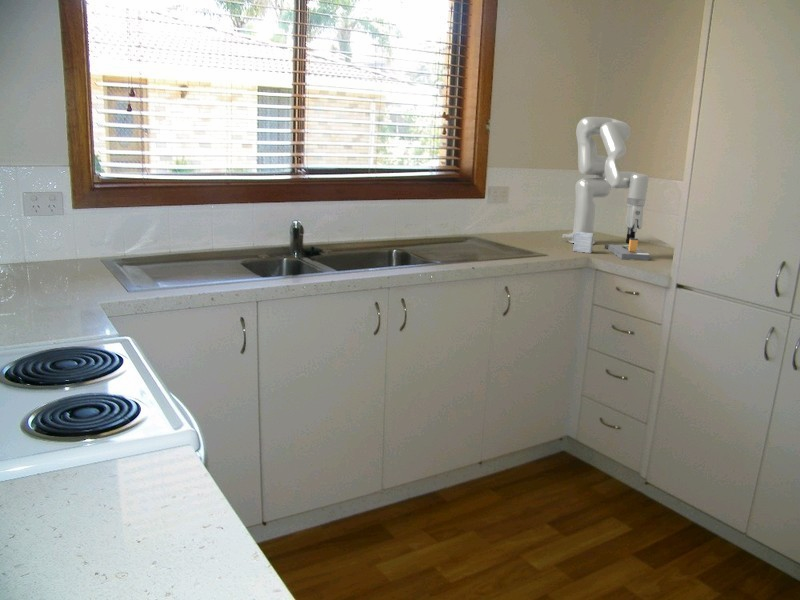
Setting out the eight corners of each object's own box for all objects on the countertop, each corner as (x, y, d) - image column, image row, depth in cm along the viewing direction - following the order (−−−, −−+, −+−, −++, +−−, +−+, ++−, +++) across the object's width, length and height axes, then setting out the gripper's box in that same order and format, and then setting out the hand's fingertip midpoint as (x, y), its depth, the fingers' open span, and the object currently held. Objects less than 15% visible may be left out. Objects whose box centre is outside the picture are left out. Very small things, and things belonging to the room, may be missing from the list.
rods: (606, 249, 330) (606, 245, 330) (604, 247, 334) (604, 244, 334) (636, 250, 330) (636, 247, 330) (633, 249, 334) (634, 245, 333)
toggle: (629, 256, 311) (631, 238, 309) (627, 255, 313) (629, 237, 311) (635, 256, 311) (638, 238, 309) (634, 255, 313) (636, 238, 311)
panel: (621, 259, 306) (622, 253, 306) (608, 249, 330) (608, 244, 329) (649, 260, 306) (650, 254, 305) (633, 250, 329) (634, 245, 329)
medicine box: (592, 252, 321) (594, 233, 319) (590, 253, 317) (592, 234, 315) (574, 250, 324) (576, 231, 322) (572, 251, 320) (574, 232, 318)
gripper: (649, 205, 302) (643, 247, 307) (639, 200, 317) (633, 240, 322) (631, 204, 302) (625, 246, 307) (622, 199, 317) (617, 239, 322)
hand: (629, 243), depth 315 cm, fingers closed
